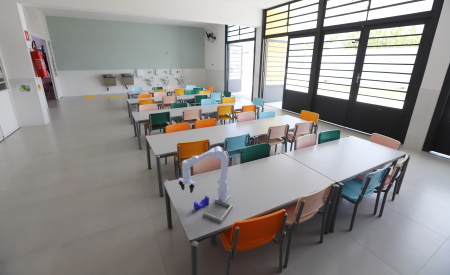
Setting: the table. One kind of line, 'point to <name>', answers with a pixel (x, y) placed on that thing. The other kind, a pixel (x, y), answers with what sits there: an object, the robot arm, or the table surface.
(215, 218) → the bracket
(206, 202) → the cable clip
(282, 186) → the table surface
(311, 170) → the table surface
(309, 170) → the table surface
